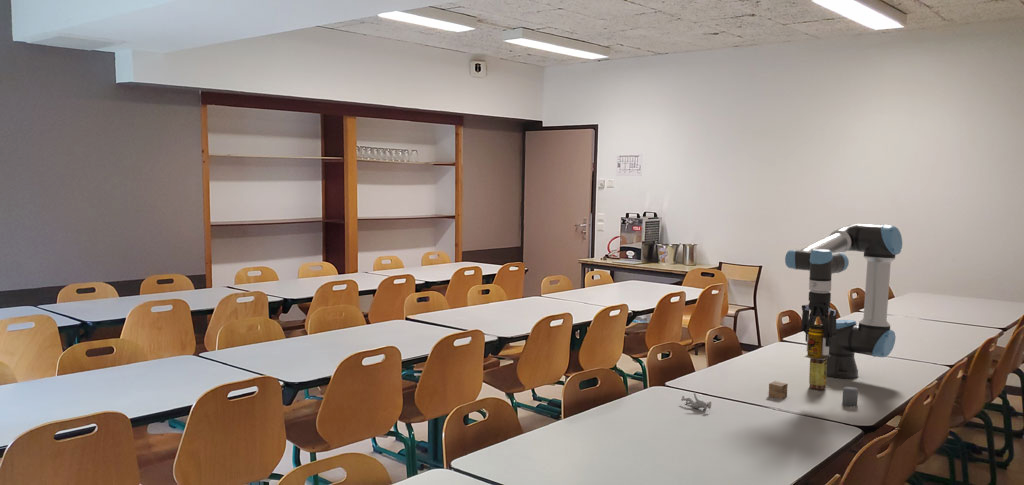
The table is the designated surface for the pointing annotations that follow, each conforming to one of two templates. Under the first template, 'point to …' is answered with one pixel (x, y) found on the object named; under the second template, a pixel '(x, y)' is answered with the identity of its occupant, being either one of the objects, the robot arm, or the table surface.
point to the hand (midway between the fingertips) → (817, 352)
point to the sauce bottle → (818, 373)
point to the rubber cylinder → (850, 396)
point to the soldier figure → (697, 404)
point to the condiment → (816, 342)
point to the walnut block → (778, 389)
